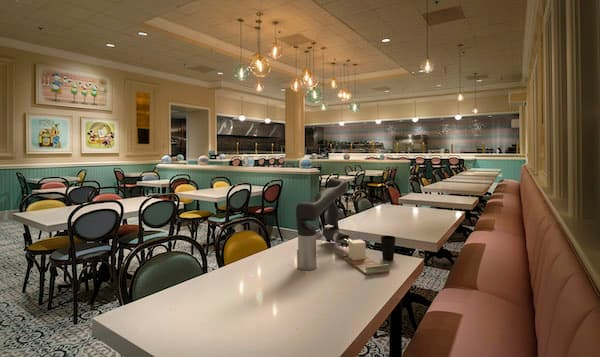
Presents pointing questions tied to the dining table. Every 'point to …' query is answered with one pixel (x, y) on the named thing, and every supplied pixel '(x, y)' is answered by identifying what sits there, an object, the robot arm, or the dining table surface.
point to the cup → (388, 247)
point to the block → (357, 249)
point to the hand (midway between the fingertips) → (354, 246)
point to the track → (367, 266)
